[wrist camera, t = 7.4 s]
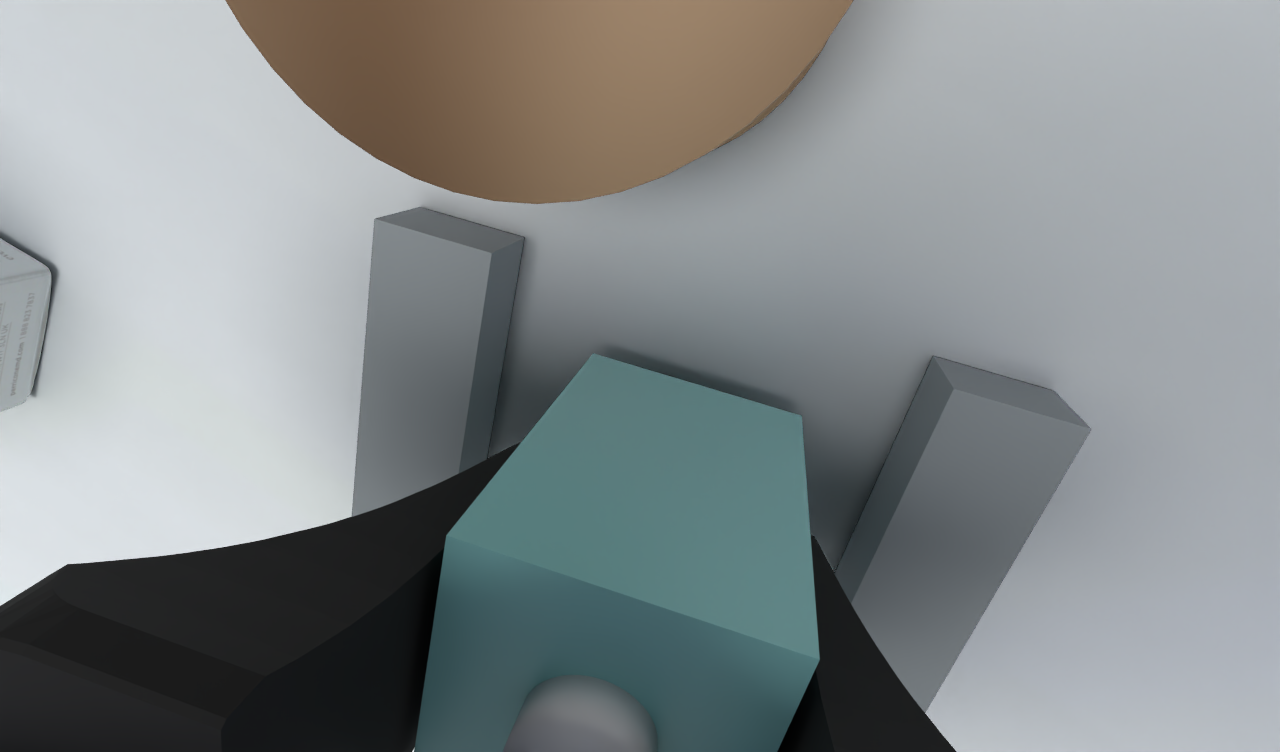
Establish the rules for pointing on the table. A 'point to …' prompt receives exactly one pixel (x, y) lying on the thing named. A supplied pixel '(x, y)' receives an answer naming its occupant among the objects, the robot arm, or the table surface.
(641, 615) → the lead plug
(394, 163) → the spool
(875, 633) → the gray u-shaped block
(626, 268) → the table surface
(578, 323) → the table surface
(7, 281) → the skincare box
